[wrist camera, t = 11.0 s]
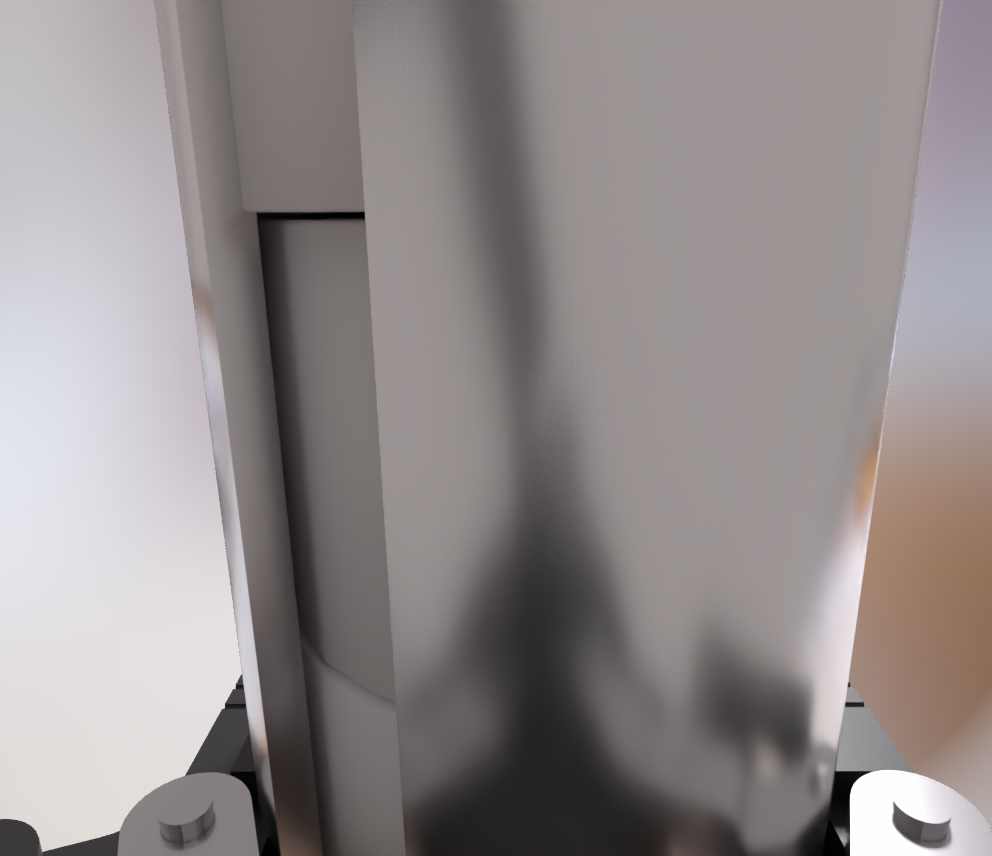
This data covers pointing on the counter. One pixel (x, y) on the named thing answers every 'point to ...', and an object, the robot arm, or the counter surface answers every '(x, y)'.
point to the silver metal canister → (546, 403)
